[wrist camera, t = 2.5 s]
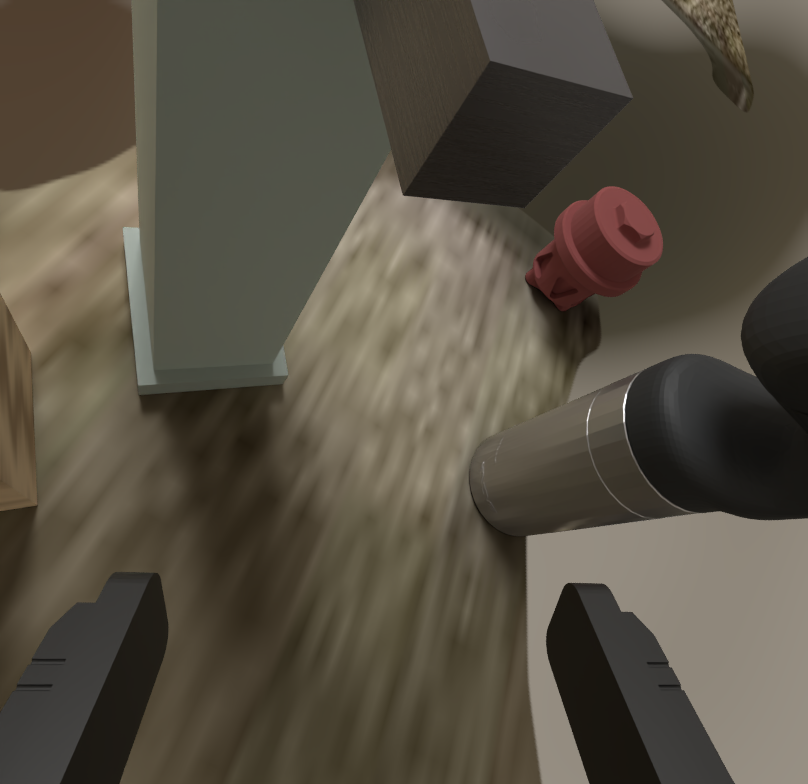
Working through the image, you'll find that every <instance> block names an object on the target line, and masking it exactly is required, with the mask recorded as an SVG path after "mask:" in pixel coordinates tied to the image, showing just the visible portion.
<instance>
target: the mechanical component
mask: <svg viewBox="0 0 808 784" xmlns="http://www.w3.org/2000/svg"><path fill="white" fill-rule="evenodd" d="M554 237H555V239H554V240H553V241H552V242H551V243H549V244H548V245H547V246H546V247H545V248H544V249H542V250H541V251H540V252H539V253H538V254H537V255H536V257H535V259H534V262H533V268H532V269H531V270H530V271H528V272H527V273H526V276H525V277H526V280H527V282H528V283H529V284H530V285H532V286H534V287H536V288H538V289H540V290H541V291H542V292H543V293H544V294H545V295H546V296H547V297H548V298H549V299H550V300H551V301H553V302H554V304H555V305H556V307H557V308H558V309H559V310H561V311H566V310H568V309H569V308H571V307H574V306H577V305H578V304H580V303H581V302H582V301H583V300H585V299H586V298H588V297H590V296H592V295H594V294H595V293H596V294H599V295H602V296H607V297H616V296H619V295H621V294H623V293H625V292H626V291H628V290H630V289H631V288H633V287H634V286H635V285H636V284H637V283H638V281H639V280H640V277H641V273H642V271H643V270H645V269H646V268H648V267H650V266H651V265H653V264H654V263H656V262H657V261H658V260H659V259H660V257H661V255H662V250H663V240H662V235H661V232H660V229H659V226H658V224H657V222H656V220H655V218H654V216H653V215H652V213H651V212H650V211H649V209H648V208H647V207H646V206H645V205H644V204H643V202H642V201H640V200H639V199H638V198H637V197H636V196H634V195H633V194H631V193H630V192H628V191H626V190H624V189H622V188H618V187H605V188H603V189H602V190H600V191H599V192H598V193H597V194H596V195H594V196H593V197H592V198H591V199H590V200H589V201H587V200H583V201H577V202H574V203H573V204H571V205H570V206H569V207H568V208H567V209H565V210H564V211H563V212H562V213H561V214H560V215H559V217H558V219H557V220H556V223H555V228H554Z"/></svg>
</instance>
